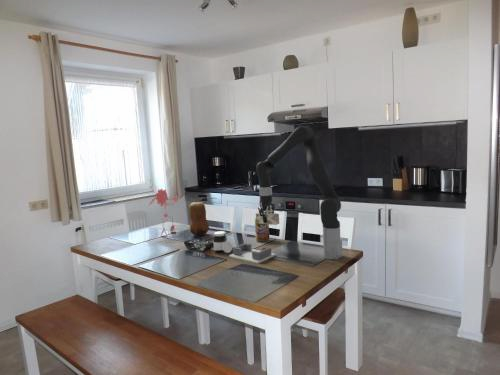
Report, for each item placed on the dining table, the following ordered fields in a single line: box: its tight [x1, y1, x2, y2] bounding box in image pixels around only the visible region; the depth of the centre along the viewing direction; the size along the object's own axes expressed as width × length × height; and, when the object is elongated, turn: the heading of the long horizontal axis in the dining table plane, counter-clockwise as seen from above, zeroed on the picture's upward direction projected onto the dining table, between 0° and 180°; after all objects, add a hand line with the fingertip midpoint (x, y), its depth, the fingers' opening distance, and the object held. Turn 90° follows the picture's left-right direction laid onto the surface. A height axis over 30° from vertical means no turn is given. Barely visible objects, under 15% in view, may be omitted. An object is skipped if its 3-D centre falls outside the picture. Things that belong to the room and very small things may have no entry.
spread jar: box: [212, 230, 233, 254], centre depth 219 cm, size 12×11×12 cm
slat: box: [255, 212, 280, 226], centre depth 216 cm, size 14×4×6 cm, turn 55°
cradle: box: [228, 242, 276, 265], centre depth 207 cm, size 22×16×5 cm
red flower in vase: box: [148, 188, 182, 236], centre depth 270 cm, size 15×26×35 cm, turn 147°
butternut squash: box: [188, 201, 210, 237], centre depth 259 cm, size 14×13×25 cm
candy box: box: [254, 217, 270, 242], centre depth 236 cm, size 9×4×15 cm, turn 98°
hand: (267, 221), depth 216 cm, fingers closed on slat, 4 cm apart
